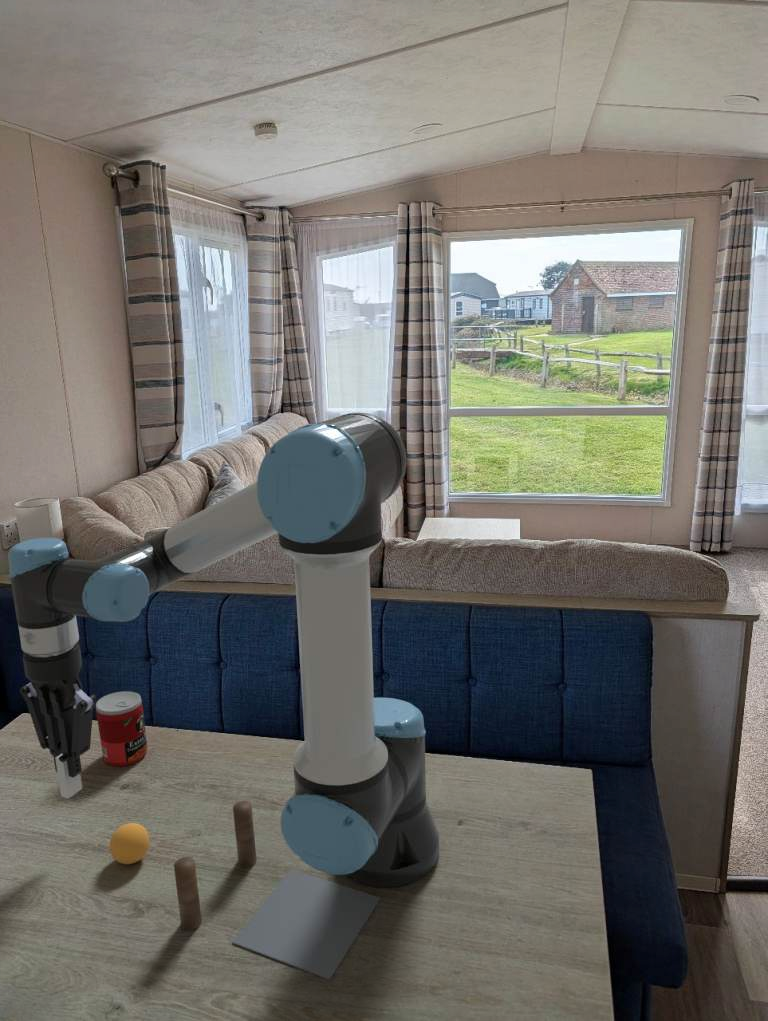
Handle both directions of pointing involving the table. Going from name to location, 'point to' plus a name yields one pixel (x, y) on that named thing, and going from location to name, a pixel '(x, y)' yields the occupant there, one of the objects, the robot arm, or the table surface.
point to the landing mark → (308, 923)
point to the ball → (129, 843)
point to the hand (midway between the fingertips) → (71, 792)
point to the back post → (244, 833)
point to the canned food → (121, 728)
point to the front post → (187, 893)
